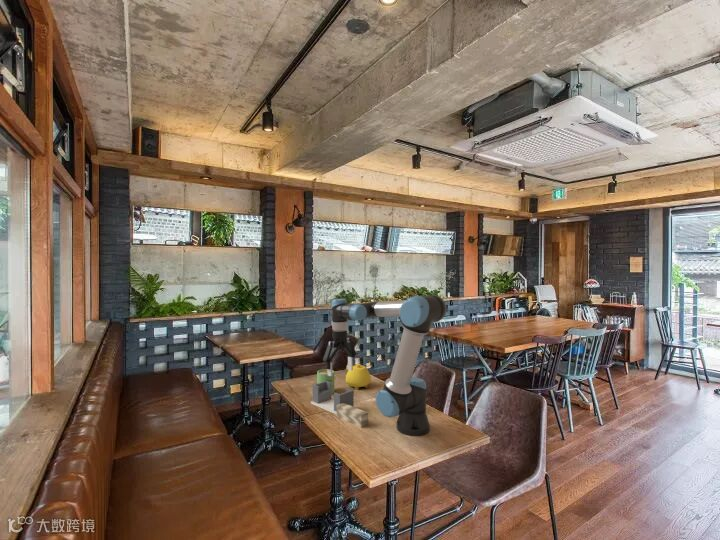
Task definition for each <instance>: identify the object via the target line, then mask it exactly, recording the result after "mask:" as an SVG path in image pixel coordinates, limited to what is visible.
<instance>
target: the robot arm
mask: <svg viewBox="0 0 720 540" xmlns="http://www.w3.org/2000/svg"><path fill="white" fill-rule="evenodd" d="M446 313H447V305H446V301H445V300H444V299H443V298H442V297H441V296H439V295H436V294H426V295H414V296H411V297H407V299H405V300H391V301H390V300H386V301H371V302H362V303H361V302H360V303H348V300H347V298H346V299H345V298H334V299H332V301H331V327H332V328H331V329H332V332H331V337H332V341H328V342H327V347H326V350H325V352H324V355H323V358H322V362H325V365H326V369H327V373H328V376H332V370H333V362H332V360H333V358H334V357H335V354H336V353H337V352H338V351H339V350H344V351H345V352H346V354H347V355H348V356H347V365H348V369H347V371H348V370H351V371H352V370H353V366H354V365H353V364H354V358H355V357H356V356H357V352H356V349H355V347H354V344H353V341H352V338H351V337H348V320H349V321H350V320H352V321H363V320H364V319H368V318H400V320H401V327H402V328H403V331H402V334H401V338H400V340H399V344H398V345H399V346H398V348H397V352H396V356H395V358H394V359H395V360H394V363H393V366H392V369H391V374H390V377H388V378H387V379H386V380H385V382H384V385H383V388H382V389H381V390H378V392H377V393H376V395H375V405H376V406H377V409H378V410H379V412H380V413H381V415H383V416H384V417H387V418H394V417H398V418H397V421H396V430H397V431H398V432H399V433H401V434H404V435H405V436H413V437H414V436H417V437H418V436H423V435H426V434H428V433H429V432H431V431H430V430H431V425H430V421H429V419H428V416H427V389H428V388H427V383H426V381H425V380H424V379H423V378H421V377H420V378H419V377H417V376H416V377H415V376H413V373H414V370H415V366H416V363H417V361H418V357H419V354H420V350H421V346H422V345H423V340H424V337H425V335H427V334H429V333H430V331H431V327H432V324H434V323H437V322H440V321H441V320H442V319H444V317H445V316H446Z"/></svg>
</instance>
